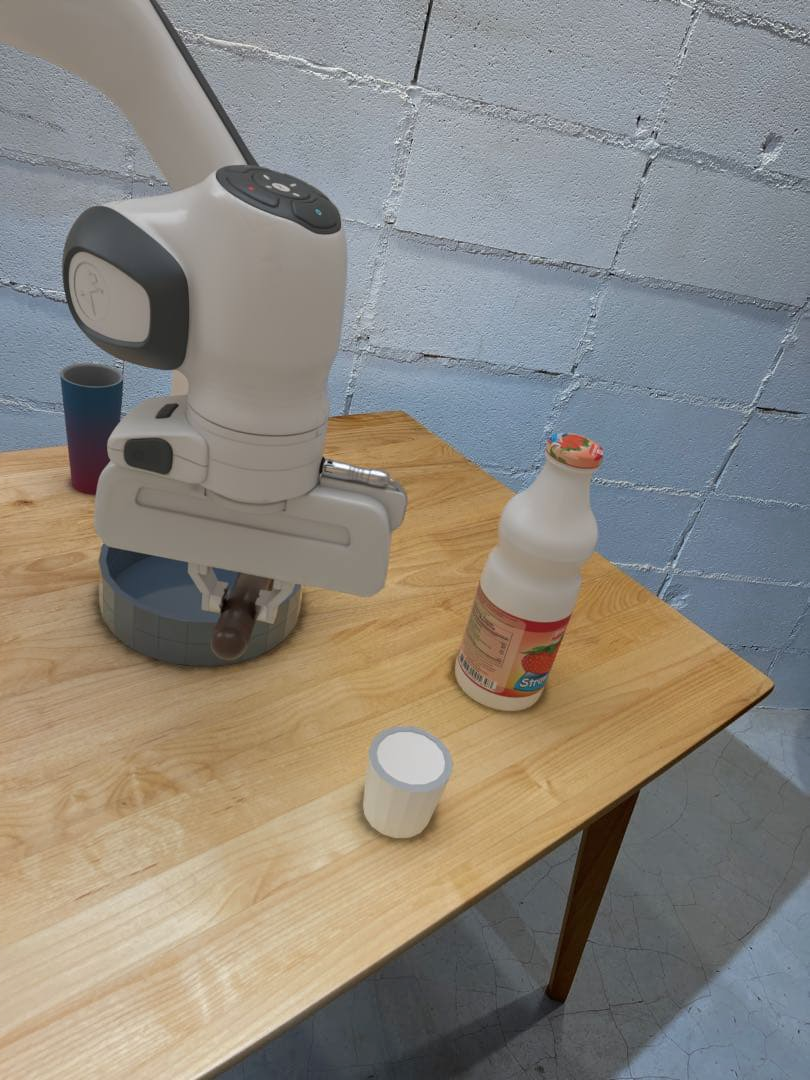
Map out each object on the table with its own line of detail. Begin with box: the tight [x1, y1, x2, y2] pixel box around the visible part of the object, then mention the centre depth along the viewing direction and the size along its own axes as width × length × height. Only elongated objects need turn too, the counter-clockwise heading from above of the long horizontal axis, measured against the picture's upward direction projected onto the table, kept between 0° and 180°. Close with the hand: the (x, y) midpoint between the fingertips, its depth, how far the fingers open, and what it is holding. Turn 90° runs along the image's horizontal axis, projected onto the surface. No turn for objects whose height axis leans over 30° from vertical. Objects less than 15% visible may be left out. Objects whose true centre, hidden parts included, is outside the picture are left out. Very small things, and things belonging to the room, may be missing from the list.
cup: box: [59, 362, 125, 496], centre depth 97 cm, size 7×7×15 cm
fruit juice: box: [454, 431, 604, 712], centre depth 78 cm, size 9×9×28 cm
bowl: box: [98, 542, 305, 667], centre depth 85 cm, size 20×20×6 cm
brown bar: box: [210, 572, 274, 660], centre depth 62 cm, size 13×3×3 cm, turn 176°
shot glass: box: [362, 725, 454, 839], centre depth 67 cm, size 7×7×7 cm
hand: (239, 612), depth 60 cm, fingers closed on brown bar, 2 cm apart
